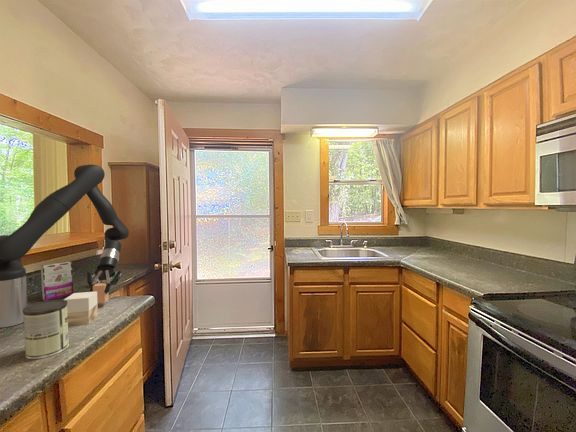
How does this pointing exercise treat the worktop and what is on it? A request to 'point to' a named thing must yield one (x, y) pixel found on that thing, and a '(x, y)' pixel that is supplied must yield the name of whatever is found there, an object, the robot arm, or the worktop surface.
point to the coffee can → (45, 329)
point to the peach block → (101, 292)
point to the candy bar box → (56, 280)
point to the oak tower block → (82, 316)
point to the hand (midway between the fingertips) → (99, 293)
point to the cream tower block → (81, 301)
